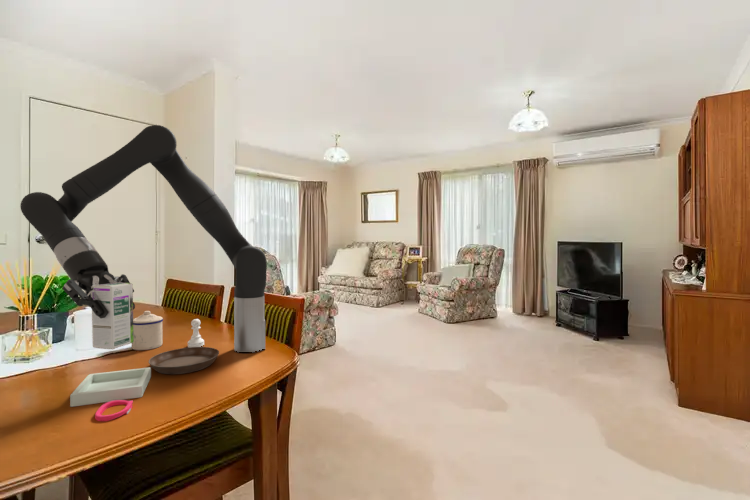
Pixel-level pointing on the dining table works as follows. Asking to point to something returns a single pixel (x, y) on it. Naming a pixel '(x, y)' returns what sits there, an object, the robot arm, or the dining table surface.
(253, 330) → the robot arm
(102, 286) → the syrup box
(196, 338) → the chess pawn
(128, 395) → the tray
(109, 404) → the fitness band
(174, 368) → the plant saucer
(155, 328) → the teacup with lid
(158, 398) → the dining table surface
